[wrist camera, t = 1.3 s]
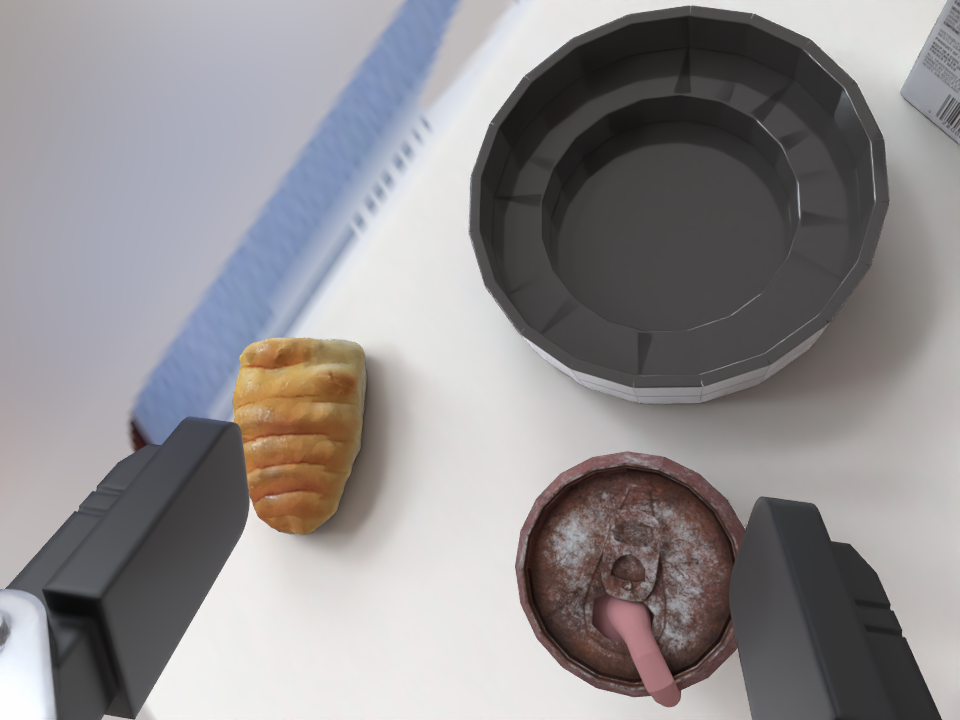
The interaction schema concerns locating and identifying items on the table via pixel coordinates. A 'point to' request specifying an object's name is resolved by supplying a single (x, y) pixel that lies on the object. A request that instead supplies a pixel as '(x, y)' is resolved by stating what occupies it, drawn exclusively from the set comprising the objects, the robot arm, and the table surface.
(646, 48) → the bowl
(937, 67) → the coffee box
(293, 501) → the pastry
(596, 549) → the can
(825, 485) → the table surface
